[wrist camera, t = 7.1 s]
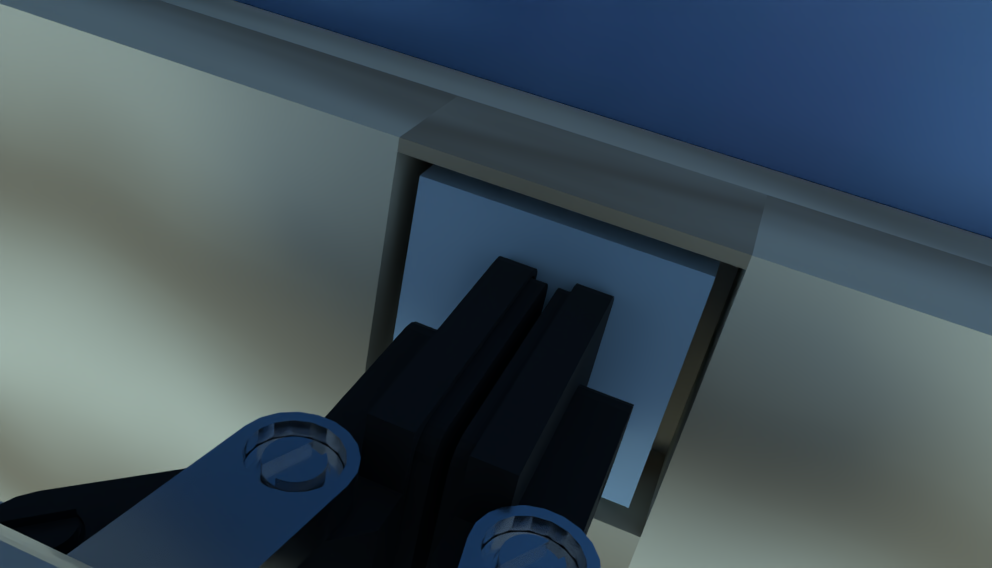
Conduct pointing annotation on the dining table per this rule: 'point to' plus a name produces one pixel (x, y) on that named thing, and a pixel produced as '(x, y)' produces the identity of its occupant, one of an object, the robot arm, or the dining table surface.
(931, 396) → the keypad
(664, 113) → the dining table surface
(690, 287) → the key blue
